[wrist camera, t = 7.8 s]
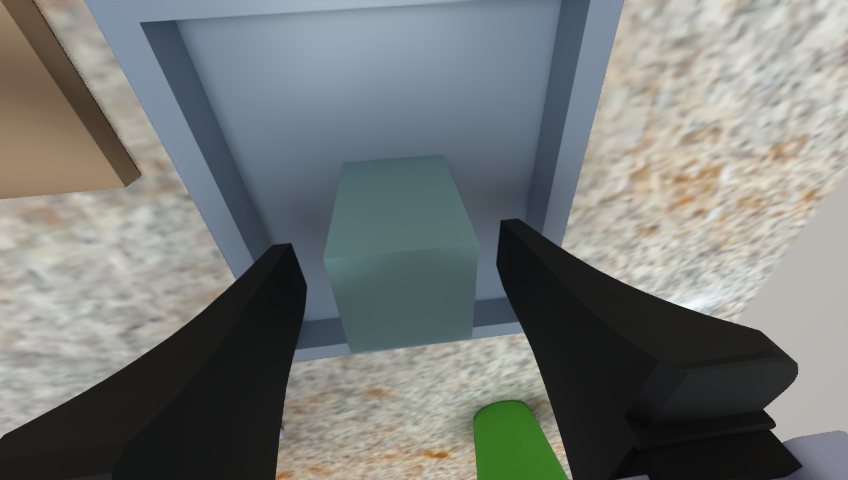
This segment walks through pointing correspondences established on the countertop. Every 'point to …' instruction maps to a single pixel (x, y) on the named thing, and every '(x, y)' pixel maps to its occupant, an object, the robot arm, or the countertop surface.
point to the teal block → (401, 254)
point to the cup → (513, 445)
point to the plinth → (50, 116)
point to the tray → (366, 116)
